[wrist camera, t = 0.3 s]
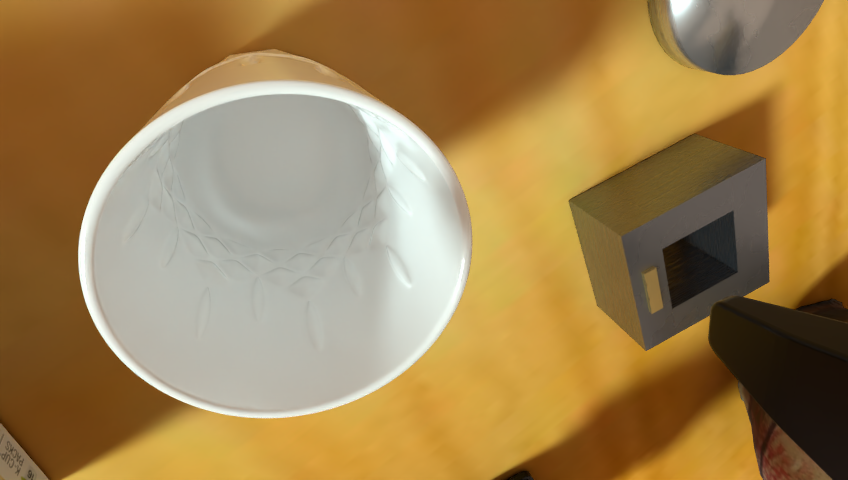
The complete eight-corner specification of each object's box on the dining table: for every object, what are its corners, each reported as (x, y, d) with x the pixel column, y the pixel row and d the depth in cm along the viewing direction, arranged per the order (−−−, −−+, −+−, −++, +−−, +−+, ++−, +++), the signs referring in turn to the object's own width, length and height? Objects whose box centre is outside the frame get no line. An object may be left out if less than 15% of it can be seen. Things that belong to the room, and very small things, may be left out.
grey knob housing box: (706, 245, 29) (773, 284, 25) (597, 305, 28) (648, 353, 25) (694, 133, 25) (769, 159, 21) (568, 200, 24) (624, 238, 21)
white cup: (294, -19, 17) (341, -15, 9) (414, 164, 21) (526, 287, 13) (102, 119, 17) (-35, 257, 9) (259, 274, 21) (268, 470, 13)
